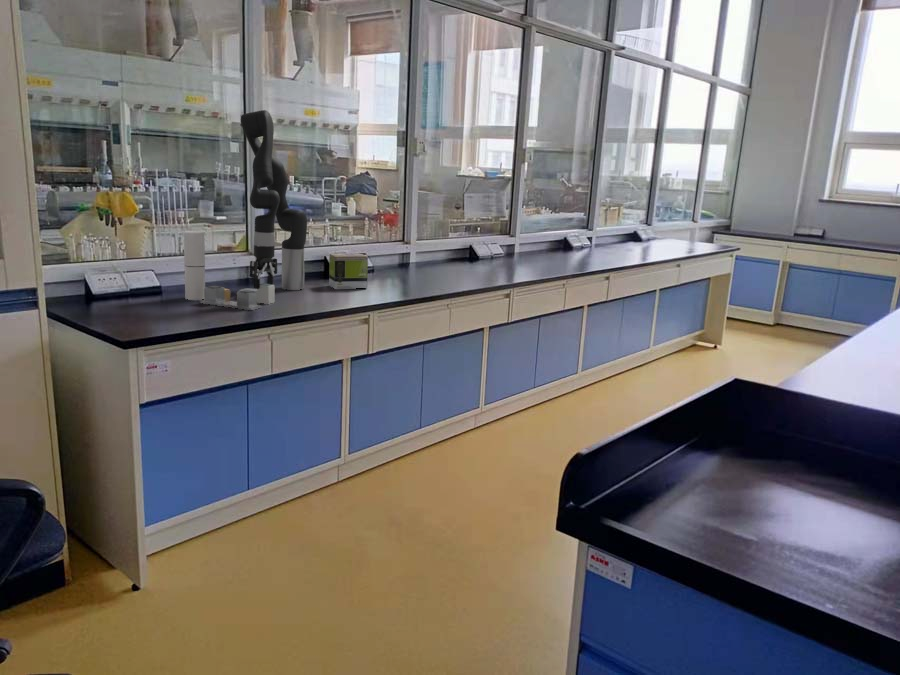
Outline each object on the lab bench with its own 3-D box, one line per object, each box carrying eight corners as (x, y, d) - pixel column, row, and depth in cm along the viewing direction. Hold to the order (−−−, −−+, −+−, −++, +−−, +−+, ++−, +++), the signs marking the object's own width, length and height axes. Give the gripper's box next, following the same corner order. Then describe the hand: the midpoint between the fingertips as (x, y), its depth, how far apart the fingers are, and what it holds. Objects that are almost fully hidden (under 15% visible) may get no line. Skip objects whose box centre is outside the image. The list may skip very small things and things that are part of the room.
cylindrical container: (186, 300, 256) (185, 233, 250) (184, 296, 262) (182, 230, 256) (206, 300, 259) (205, 233, 253) (203, 296, 265) (202, 231, 259)
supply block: (246, 296, 272) (246, 287, 271) (260, 298, 270) (260, 289, 270) (238, 299, 266) (238, 290, 265) (252, 300, 265) (252, 291, 264)
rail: (210, 300, 258) (210, 284, 257) (261, 308, 252) (261, 291, 250) (200, 303, 253) (200, 286, 251) (251, 310, 246) (251, 293, 245)
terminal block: (223, 298, 265) (223, 288, 264) (230, 300, 263) (230, 289, 262) (217, 299, 262) (216, 288, 261) (223, 300, 260) (223, 290, 259)
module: (263, 301, 264) (263, 282, 262) (274, 303, 262) (274, 284, 261) (257, 303, 260) (257, 284, 259) (268, 304, 259) (268, 285, 257)
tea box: (361, 285, 312) (362, 253, 309) (367, 289, 303) (368, 256, 300) (328, 285, 306) (329, 252, 303) (333, 289, 297) (334, 255, 294)
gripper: (266, 242, 264) (266, 283, 267) (243, 244, 251) (243, 288, 254) (283, 244, 261) (282, 286, 265) (261, 246, 248) (260, 290, 252)
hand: (263, 287), depth 260 cm, fingers open, 8 cm apart
